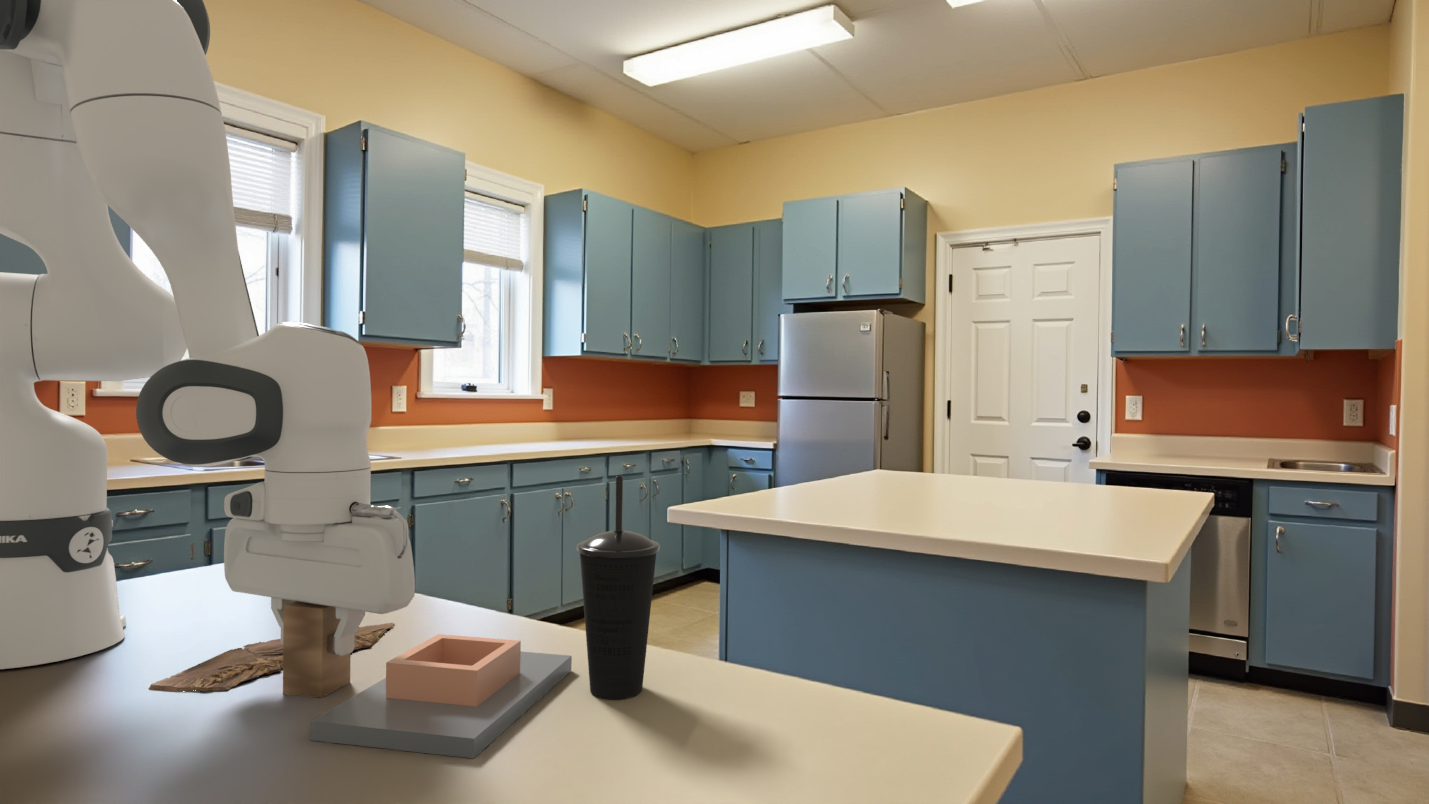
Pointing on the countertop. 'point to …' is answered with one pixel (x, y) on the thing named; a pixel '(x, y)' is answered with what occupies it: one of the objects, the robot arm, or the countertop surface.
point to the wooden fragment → (247, 664)
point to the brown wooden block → (311, 651)
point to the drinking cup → (617, 605)
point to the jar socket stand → (445, 697)
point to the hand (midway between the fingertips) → (317, 649)
